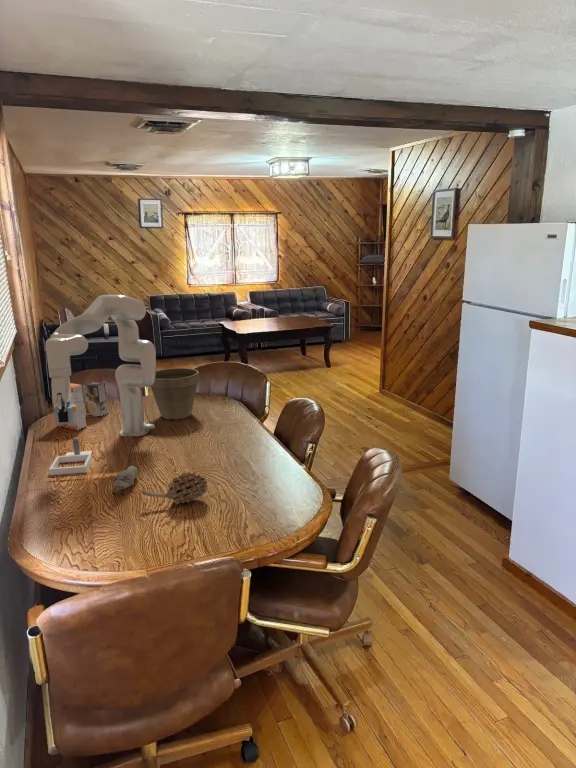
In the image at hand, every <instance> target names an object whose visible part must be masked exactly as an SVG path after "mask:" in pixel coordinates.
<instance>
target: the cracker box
mask: <svg viewBox="0 0 576 768" xmlns="http://www.w3.org/2000/svg"><path fill="white" fill-rule="evenodd" d="M70 385H71V399H70V402H71V404H74V405H77V411H76V412H75V414H76V420H75V421H74V423H73V424H61V425H58V426H63V427H67V428H71V429H70V430H72V429H76V430H75V431H77V430H78V429H80V430H82V429H81V428H83V429H85V428H84V427H86V426H87V420H86V419H87V418H86V408H85V399H84V390H83V384H78V383H71V382H70ZM50 386H51V388H52V383H51V384H50ZM56 406H57V403H56V404H55V405H54V404H53V409H54V408H55V407H56ZM67 428H66V429H67ZM86 428H87V427H86ZM78 431H79V430H78Z"/></svg>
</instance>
